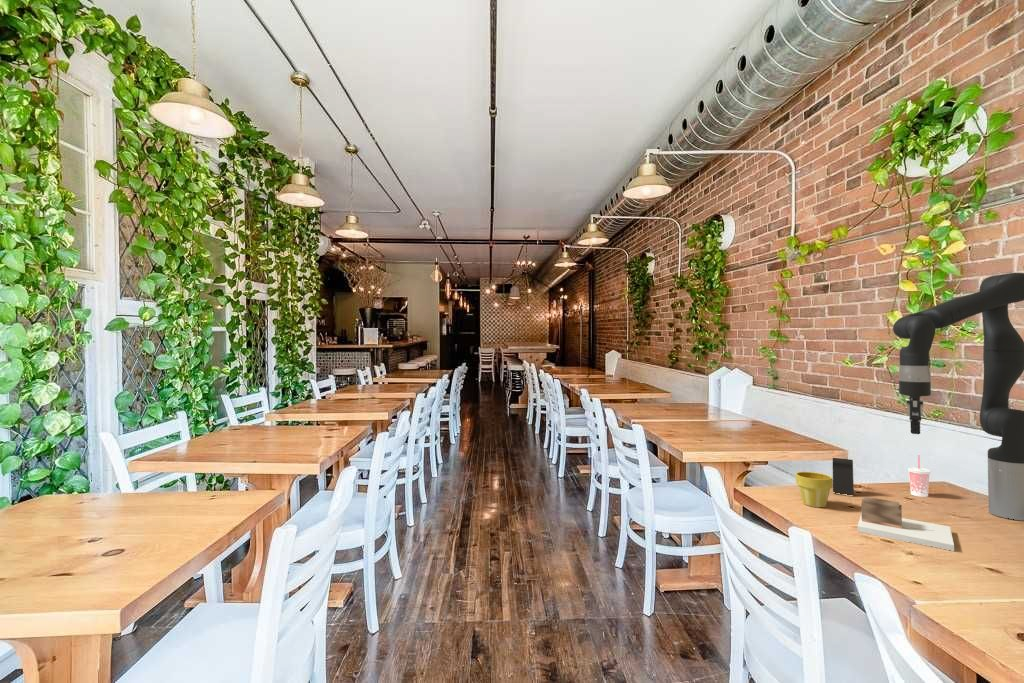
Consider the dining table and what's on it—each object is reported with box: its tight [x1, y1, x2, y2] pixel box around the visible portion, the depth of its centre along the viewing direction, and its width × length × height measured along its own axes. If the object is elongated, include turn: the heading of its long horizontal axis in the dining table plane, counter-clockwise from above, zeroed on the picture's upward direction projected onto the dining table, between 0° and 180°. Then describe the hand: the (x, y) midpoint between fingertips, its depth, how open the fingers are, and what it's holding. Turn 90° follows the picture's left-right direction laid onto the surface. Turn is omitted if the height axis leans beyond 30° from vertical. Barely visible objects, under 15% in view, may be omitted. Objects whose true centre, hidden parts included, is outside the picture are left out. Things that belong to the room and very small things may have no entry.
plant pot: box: [795, 471, 833, 508], centre depth 155 cm, size 10×10×10 cm
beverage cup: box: [907, 455, 931, 498], centre depth 164 cm, size 6×6×14 cm
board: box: [857, 512, 955, 552], centre depth 132 cm, size 20×16×2 cm
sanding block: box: [860, 496, 903, 529], centre depth 135 cm, size 9×6×6 cm, turn 49°
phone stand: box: [832, 457, 855, 496], centre depth 168 cm, size 9×6×12 cm, turn 146°
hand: (915, 431), depth 145 cm, fingers open, 8 cm apart
